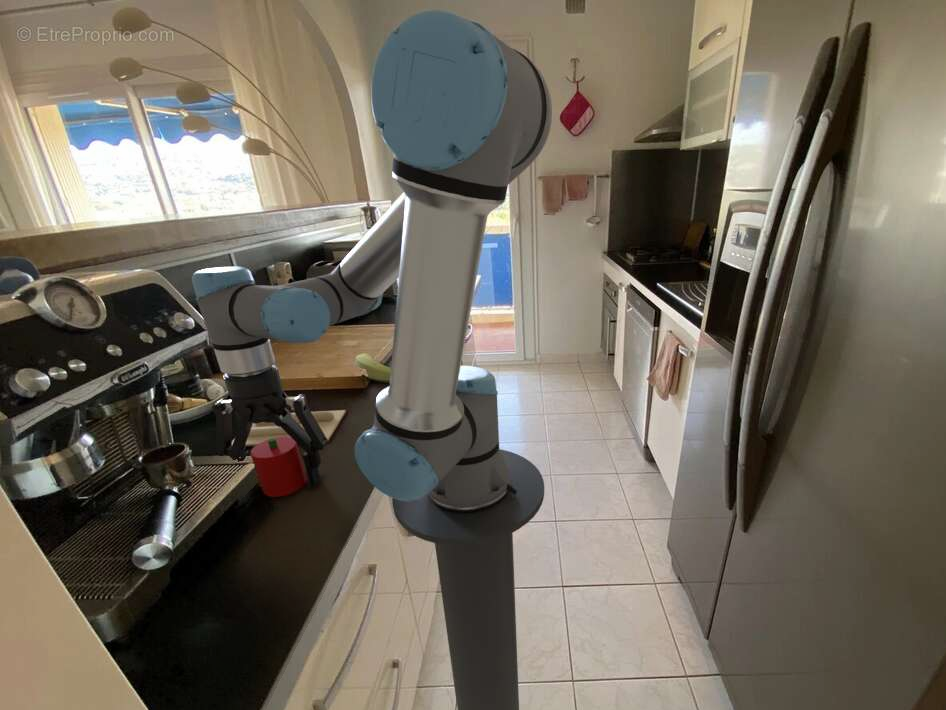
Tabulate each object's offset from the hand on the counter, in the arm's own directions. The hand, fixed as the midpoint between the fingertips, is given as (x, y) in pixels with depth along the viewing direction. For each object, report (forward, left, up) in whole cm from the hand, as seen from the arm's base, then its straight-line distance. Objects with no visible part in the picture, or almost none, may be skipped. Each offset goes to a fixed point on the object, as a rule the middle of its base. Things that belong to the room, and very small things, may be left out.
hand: (284, 483), depth 80 cm
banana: (-6, -54, 0) cm, 54 cm away
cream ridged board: (+7, -22, 0) cm, 23 cm away
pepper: (0, 0, 0) cm, 0 cm away
